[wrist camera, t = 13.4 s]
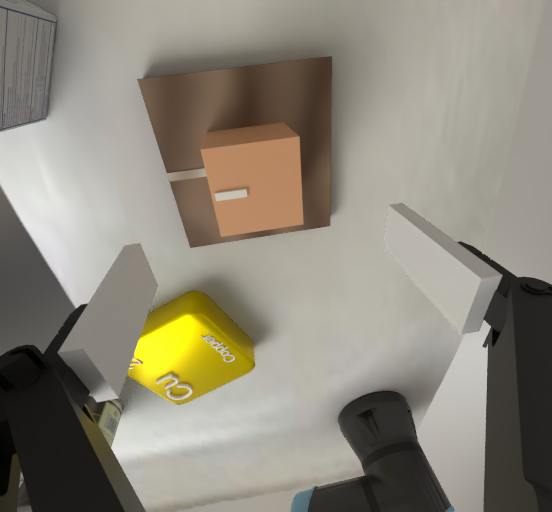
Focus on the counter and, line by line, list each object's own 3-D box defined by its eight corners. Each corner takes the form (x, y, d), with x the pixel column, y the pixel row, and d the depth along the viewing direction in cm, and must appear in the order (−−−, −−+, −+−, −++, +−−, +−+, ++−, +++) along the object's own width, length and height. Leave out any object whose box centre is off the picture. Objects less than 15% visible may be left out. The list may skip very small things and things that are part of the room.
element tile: (258, 344, 45) (261, 371, 41) (182, 382, 47) (177, 411, 43) (198, 284, 37) (194, 309, 33) (110, 334, 39) (96, 363, 35)
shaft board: (326, 57, 25) (353, 52, 19) (326, 220, 34) (345, 248, 28) (142, 78, 24) (116, 80, 18) (191, 241, 33) (184, 274, 27)
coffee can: (38, 410, 45) (-29, 529, 33) (82, 382, 43) (27, 498, 31) (95, 432, 50) (55, 540, 39) (136, 407, 48) (107, 514, 37)
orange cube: (283, 122, 26) (299, 136, 20) (288, 194, 30) (304, 225, 24) (206, 132, 25) (200, 150, 19) (222, 204, 29) (221, 238, 23)
